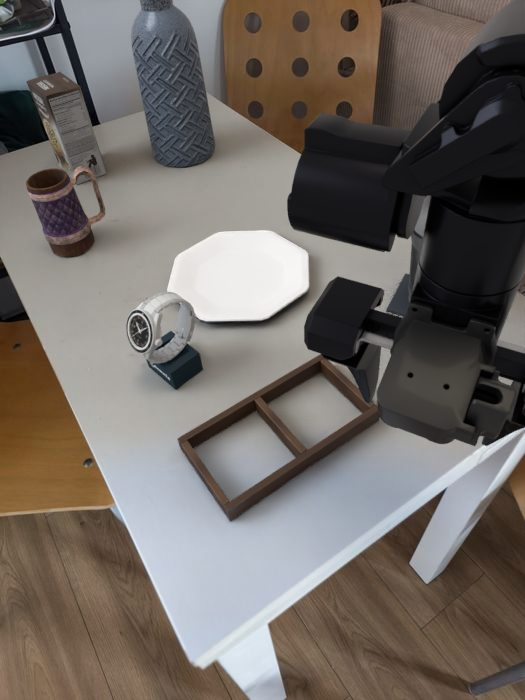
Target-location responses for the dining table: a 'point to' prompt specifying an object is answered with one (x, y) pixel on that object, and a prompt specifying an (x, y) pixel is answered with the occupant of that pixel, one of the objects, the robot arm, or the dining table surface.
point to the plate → (240, 276)
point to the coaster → (400, 298)
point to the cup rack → (278, 433)
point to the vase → (171, 85)
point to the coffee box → (67, 124)
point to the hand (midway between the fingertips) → (425, 419)
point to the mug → (64, 210)
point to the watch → (165, 339)
